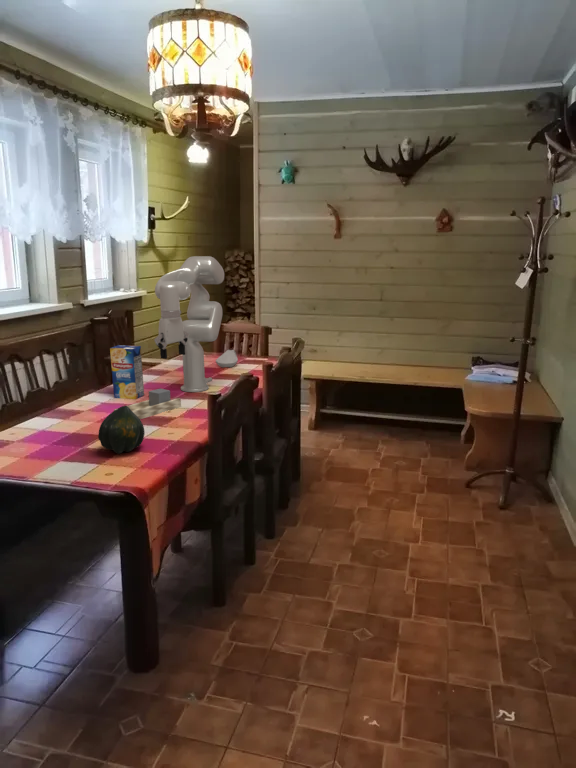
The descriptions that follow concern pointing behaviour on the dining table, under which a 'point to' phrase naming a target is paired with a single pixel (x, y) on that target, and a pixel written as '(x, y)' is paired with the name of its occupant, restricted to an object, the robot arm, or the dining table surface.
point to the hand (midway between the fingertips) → (173, 356)
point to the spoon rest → (227, 359)
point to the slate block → (158, 396)
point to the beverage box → (127, 372)
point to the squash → (121, 431)
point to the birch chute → (153, 408)
